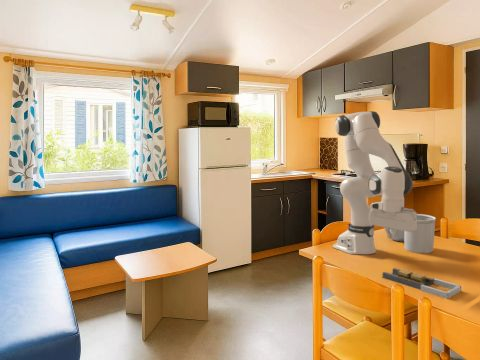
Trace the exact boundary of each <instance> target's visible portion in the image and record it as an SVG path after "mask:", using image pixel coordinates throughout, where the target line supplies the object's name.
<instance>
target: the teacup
mask: <svg viewBox="0 0 480 360" xmlns="http://www.w3.org/2000/svg"><path fill="white" fill-rule="evenodd" d="M390 232H391V234H394V232H395V231H393V229H392V228H391V229H390ZM392 241H394V242H404V231H402V230H399V232H398V234H397V235H396V239H392Z"/></svg>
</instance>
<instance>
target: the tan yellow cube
mask: <svg viewBox="0 0 480 360" xmlns="http://www.w3.org/2000/svg"><path fill="white" fill-rule="evenodd" d="M413 273H414V272H413V271H411V270H407V269H400V271H398V276H400V277H404V278H407V279H410V280H411V275H412V274H413Z"/></svg>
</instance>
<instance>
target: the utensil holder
mask: <svg viewBox="0 0 480 360" xmlns="http://www.w3.org/2000/svg"><path fill="white" fill-rule="evenodd" d="M436 219H437V218H436V217H435V216H433V215H429V214H423V213H420V214H419V213H417V218H416V220H417V230H416V231H414V232H407V231H404V241H403V242H404V244H403V245H404V249H405V250H406V251H408V252H412V253H416V254H431V253H432V252H433V251H434V244H435V242H434V241H435V229H436V228H435V226H436Z"/></svg>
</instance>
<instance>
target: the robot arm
mask: <svg viewBox="0 0 480 360" xmlns="http://www.w3.org/2000/svg"><path fill="white" fill-rule="evenodd" d="M380 126H381V117H380V115H379V113H378V112H377V111H374V110H371V111H370V110H369V111H359V112H353V113H348V114H342V115H339V116H338V117H337V118H336V119H335V123H334V128H335V131H336V133H337V134H338V136H341V137H345V138H344V148H345V155H346V160H347V161H346V162H347V166H348V168H349V169H350V170H352V171H353V172H354V173H355V174H356V176H355V177H349V178H347V179H344V180H342V182H341V183H340V186H339V191H340V194H341V195H342V196H343V198H344V199H346V201H347V202H348V205H349V207H350V208H349V209H350V223H348V224H347V225H346V227H347V229H346V230H345V231H344V232H342V233H341V234H339V236H338V237H337V241H336V243H334V244H333V245H332V248H334V249H337V250H338V251H341V252H345V253H347V254H349V255H372V254H375V253H377V250H376V246H375V240H374V239H375V238H374V234H375V226H376V227H377V226H378V227H382V228H384V231H385V233H386V235H387V236H386V238H387V239H392V240H393V239H396V235H397V234H398V232H399V230H402V231H407V232H414V231H416V230H417V220H416V218H417V214H418V213H417V212H416V210H414V209H413V208H407V207H405V197H404V196H406V195H407V194H409V193H411V190H412V189H413V187H414V183H413V178H412V177H411V175H410V174H409V172H408V171H407V170H406V168H405V167H404V165H403V164H402V161H401V159H400V157H399V156H398V154H397V152H396V150H395V147H393V145H392V144H391V143H390V142H388V141H387V140H386V139H385V137H383V136H382V135H381V132H380V129H379V128H380ZM370 155H372V156H376V157H377V158H381V159H382V160H384V161H385V163H387V164H386V165H387V166H386V167H383V169H382V171H380V172H375V170H374V168H373V166H372V162H371V158H370ZM376 196H381V201H379V200H378V201H376V202H371V204H370V205H369V204H368V202H367V198H375V197H376ZM391 228H392V229H393V231H395V232H394V234H391V232H390V229H391Z"/></svg>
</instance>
